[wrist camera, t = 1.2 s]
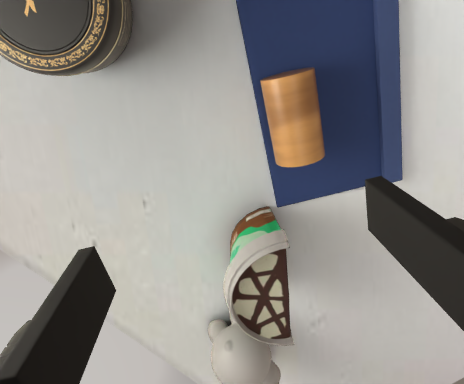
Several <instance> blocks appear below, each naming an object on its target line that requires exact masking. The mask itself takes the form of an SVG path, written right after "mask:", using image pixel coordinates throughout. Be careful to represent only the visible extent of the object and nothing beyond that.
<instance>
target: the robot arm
mask: <svg viewBox="0 0 464 384" xmlns="http://www.w3.org/2000/svg"><path fill="white" fill-rule="evenodd" d="M365 189H366V204H367V218H368V230H369V231H370V232H371V233H372V234H373V235H374V236H375V237H376V238H377V239H378V240H379V241H380V243H381V244H382V245H383V246H384V247H385V248H386V249H387V250H388V251H389V252H390V253H391V254H392V255H393V256H394V257H395V259H396V260H397V261H398V262H399V263H400V264H401V265H402V266H403V267H404V268H405V269H406V270H407V271H408V272H409V273H410V274H411V276H412V277H413V278H414V279H415V280H416V281H417V282H418V283H419V284H420V285H421V286H422V287H423V288H424V289H425V290H426V292H427V293H428V294H429V295H430V296H431V297H432V298H433V299H434V300H435V301H436V302H437V303H438V304H439V305H440V306H441V307H442V309H443V310H444V311H445V312H446V313H447V314H448V315H449V316H450V317H451V318H452V319H453V320H454V321H455V322H456V323H457V325H458V326H459V327H460V328H461V329H462V330H463V331H464V220H462V219H459V218H456V217H454V218H450V219H444V218H443V217H442V216H440V215H439V214H437V213H436V212H434V211H433V210H431V209H430V208H428V207H427V206H425V205H424V204H422V203H421V202H419V201H418V200H416V199H415V198H413V197H412V196H410V195H409V194H407V193H406V192H404V191H403V190H402V189H400V188H399V187H397V186H396V185H394V184H393V183H391V182H390V181H388V180H387V179H385V178H384V177H382V176H378V177H374V178H370V179H366V180H365ZM115 292H116V289H115V287H114V285H113V283H112V281H111V279H110V277H109V275H108V273H107V271H106V269H105V267H104V265H103V263H102V261H101V259H100V257H99V255H98V253H97V251H96V249H95V247H94V246H93V247H89V248H85V249H81V250H78V252H77V253H76V255H75V256H74V258H73V259H72V261H71V262H70V264H69V265H68V267H67V268H66V270H65V271H64V273H63V274H62V276H61V277H60V279H59V280H58V282H57V283H56V285H55V286H54V288H53V289H52V291H51V292H50V294H49V295H48V296H47V298H46V299H45V301H44V303H43V304H42V305H41V307H40V309H39V310H38V311H37V313H36V314H35V316H34V317H33V319H32V320H29V321H27V322H26V324H24V325H23V326H22V327H21V328H20V329H19V330H18V331H17V332H16V333H15V334H14V336H13V337H12V339H11V340H10V342H9V343H8V344H7V347H6V348H5V349H4V350H3V352H2V353H1V354H0V384H79V383H80V380H81V378H82V375H83V373H84V370H85V368H86V365H87V363H88V360H89V358H90V355H91V353H92V350H93V348H94V345H95V343H96V340H97V338H98V335H99V332H100V330H101V327H102V325H103V322H104V320H105V317H106V315H107V312H108V310H109V307H110V305H111V302H112V300H113V297H114V295H115Z"/></svg>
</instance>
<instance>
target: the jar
mask: <svg viewBox="0 0 464 384" xmlns="http://www.w3.org/2000/svg"><path fill="white" fill-rule="evenodd" d="M132 21H133V15H132V5H131V0H0V55H1V56H2V57H4V58H5V59H7V60H8V61H10V62H11V63H13V64H15V65H17V66H19V67H21V68H24V69H26V70H29V71H32V72H35V73H39V74H45V75H56V76H71V75H78V74H81V73H89V72H94V71H98V70H100V69H103V68H105V67H107V66H108V65H110V64H111V63H113V62H114V61H115V60H116V59H117V58H118V57H119V56H120V55H121V53H122V52H123V51H124V49H125V47H126V45H127V43H128V41H129V38H130V34H131V30H132Z"/></svg>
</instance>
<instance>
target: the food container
mask: <svg viewBox="0 0 464 384" xmlns="http://www.w3.org/2000/svg"><path fill="white" fill-rule="evenodd" d="M286 248H290V247H289V244H288V240H287V237H286V234H285V231H284V229H283V230H281V228H280V226H279V225H278V223H277V221H276V219H275V217H274V215H273V213H272V211H271V209H270V207H264V208H259V209H257V210H255V211H253V212H251V213H249V214H247V215H246V216H245V217H244V218H243V219H242V220H241V221H240V222H238V224H237V225H236V227H235V229H234V231H233V233H232V236H231V242H230V265H229V266H228V268H227V271H226V274H225V277H224V283H223V291H224V297H225V301H226V304H227V306H228V309H229V311H230V313H231V315H232V317H233V319H234V320H235V322H236V323H237V324H238V325H239V327H240V328H241V329H242V330H243V331H244V332H245V333H246V334H248V335H249V336H251V337H252V338H254V339H256V340H258V341H260V342H264V343H267V344H272V345H281V346H288V345H294V342H293V338H292V335H291V329H290V315H289V289H288V275H287V257H286Z"/></svg>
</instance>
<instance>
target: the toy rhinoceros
mask: <svg viewBox="0 0 464 384" xmlns="http://www.w3.org/2000/svg"><path fill="white" fill-rule="evenodd" d="M230 320H231V323H232V324H231V325H230V326H227V324H226V322H225V321H224V320H221V319H217V320H213V321H212V322H211V323H210V324H209V327H208V334H209V337H210V339H211V341H212V343H213V346H212V350H211V364H212V368H213V371H214V373H215V375H216V377H217V378H218V380H219V381H220V382H221V383H222V384H279V380H280V377H281V373H280V369H279V367H278V366H277V365H276V364H275V363H274V362H273V361H272V360H271V351H270V347H269V344H267V343H264V342H260V341H258V340H256V339H254V338H252V337H251V336H249V335H248V334H246V333H245V332H244V331H243V330H242V329H241V328H240V327H239V325H238V324H237V323H236V322H235V320H234V319H233V317H232V315H231V313H230Z"/></svg>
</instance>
